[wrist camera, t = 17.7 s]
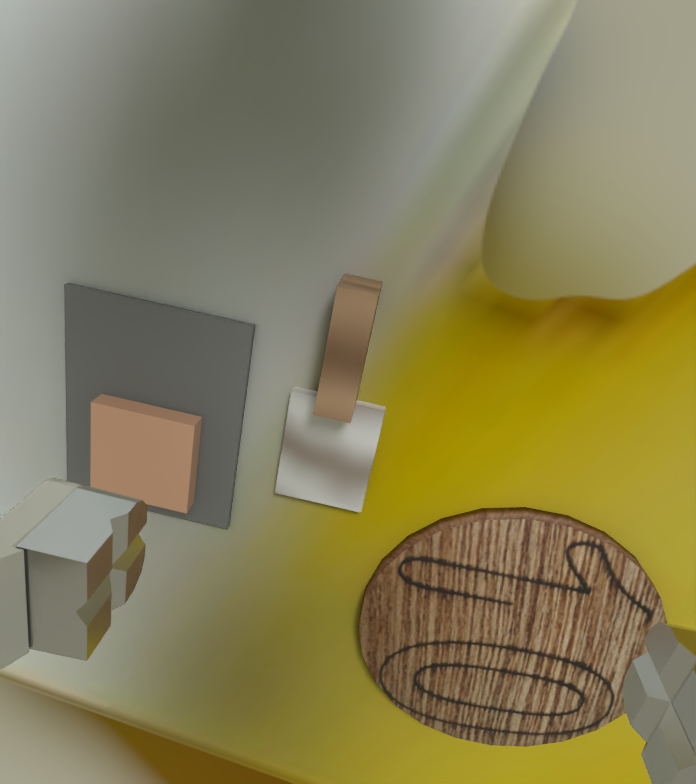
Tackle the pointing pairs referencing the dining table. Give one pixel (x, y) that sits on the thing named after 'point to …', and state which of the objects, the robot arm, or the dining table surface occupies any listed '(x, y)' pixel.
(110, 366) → the mat
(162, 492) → the tile
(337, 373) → the turner
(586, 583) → the trivet
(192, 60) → the dining table surface
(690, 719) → the robot arm
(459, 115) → the dining table surface
